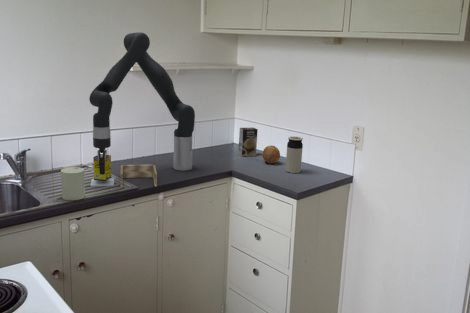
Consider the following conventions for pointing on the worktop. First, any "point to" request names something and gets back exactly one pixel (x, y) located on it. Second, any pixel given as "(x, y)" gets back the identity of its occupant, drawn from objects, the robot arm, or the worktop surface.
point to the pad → (102, 182)
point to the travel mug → (294, 154)
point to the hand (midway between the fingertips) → (102, 171)
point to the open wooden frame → (138, 172)
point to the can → (72, 183)
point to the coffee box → (247, 142)
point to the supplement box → (97, 169)
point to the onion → (271, 154)
